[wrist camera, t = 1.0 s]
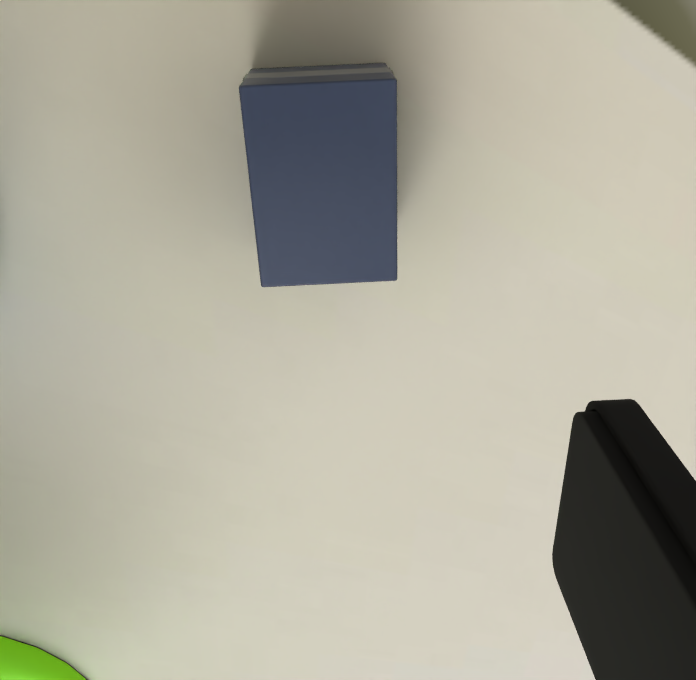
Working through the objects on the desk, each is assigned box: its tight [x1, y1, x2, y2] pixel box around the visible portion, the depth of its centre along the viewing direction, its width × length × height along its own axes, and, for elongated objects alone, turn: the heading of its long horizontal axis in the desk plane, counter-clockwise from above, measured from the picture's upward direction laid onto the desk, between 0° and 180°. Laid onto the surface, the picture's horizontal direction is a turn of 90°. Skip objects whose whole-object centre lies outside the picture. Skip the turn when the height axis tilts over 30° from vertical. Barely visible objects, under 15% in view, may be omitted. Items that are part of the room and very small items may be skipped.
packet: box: [239, 63, 397, 287], centre depth 24 cm, size 7×5×4 cm
